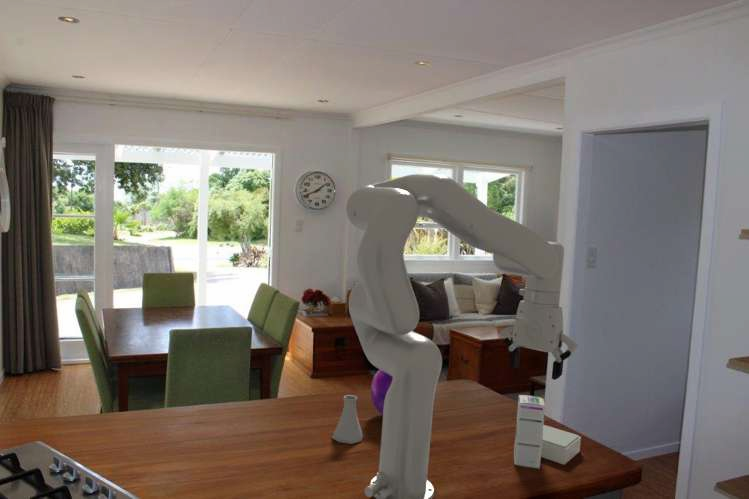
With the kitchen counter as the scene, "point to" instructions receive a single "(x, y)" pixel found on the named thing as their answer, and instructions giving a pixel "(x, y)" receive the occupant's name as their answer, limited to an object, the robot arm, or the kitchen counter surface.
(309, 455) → the kitchen counter surface
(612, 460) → the kitchen counter surface
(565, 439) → the block
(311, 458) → the kitchen counter surface
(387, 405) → the robot arm
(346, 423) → the flask
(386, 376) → the decorative orb
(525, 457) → the syrup box
